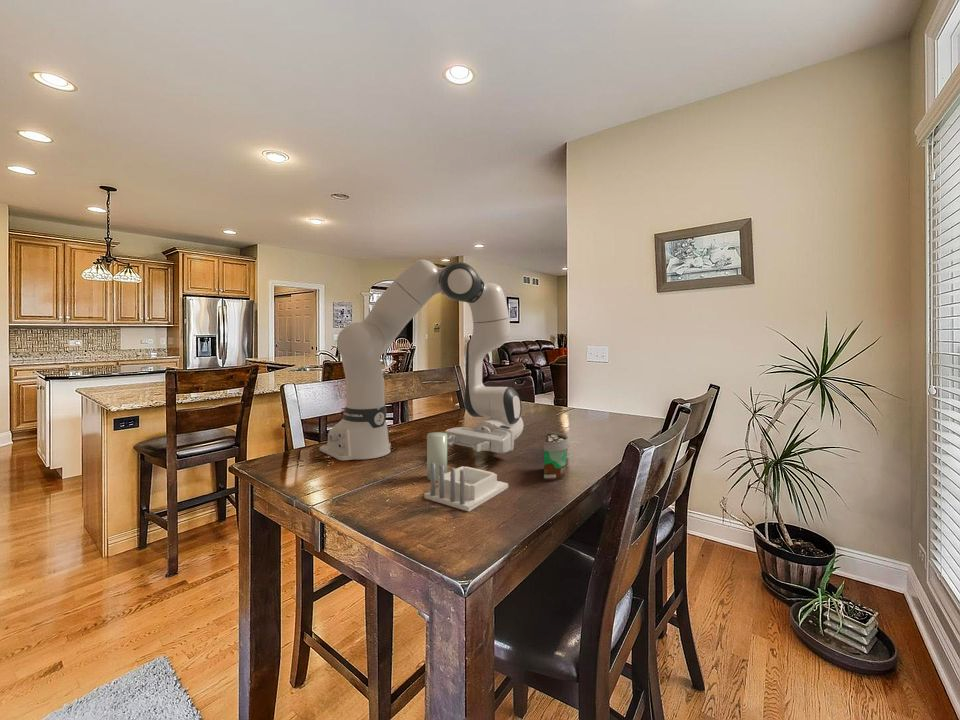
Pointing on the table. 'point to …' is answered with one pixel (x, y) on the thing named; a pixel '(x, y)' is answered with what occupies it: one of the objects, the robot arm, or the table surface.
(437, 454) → the pale green canister
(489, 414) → the robot arm
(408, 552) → the table surface
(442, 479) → the dish rack
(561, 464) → the food container
